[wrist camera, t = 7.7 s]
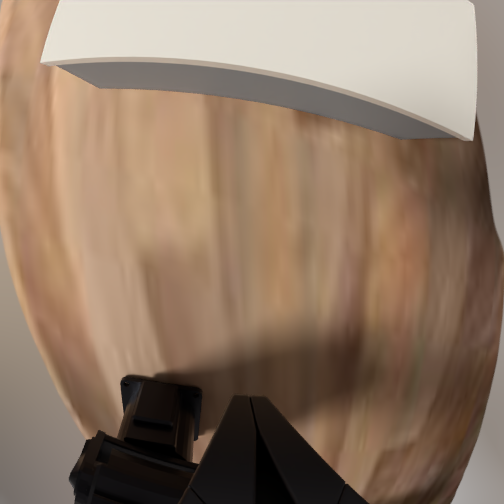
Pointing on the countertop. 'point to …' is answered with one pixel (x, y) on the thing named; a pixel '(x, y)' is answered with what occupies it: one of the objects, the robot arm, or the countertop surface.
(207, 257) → the countertop surface
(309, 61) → the lid
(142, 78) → the storage box
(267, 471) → the robot arm
